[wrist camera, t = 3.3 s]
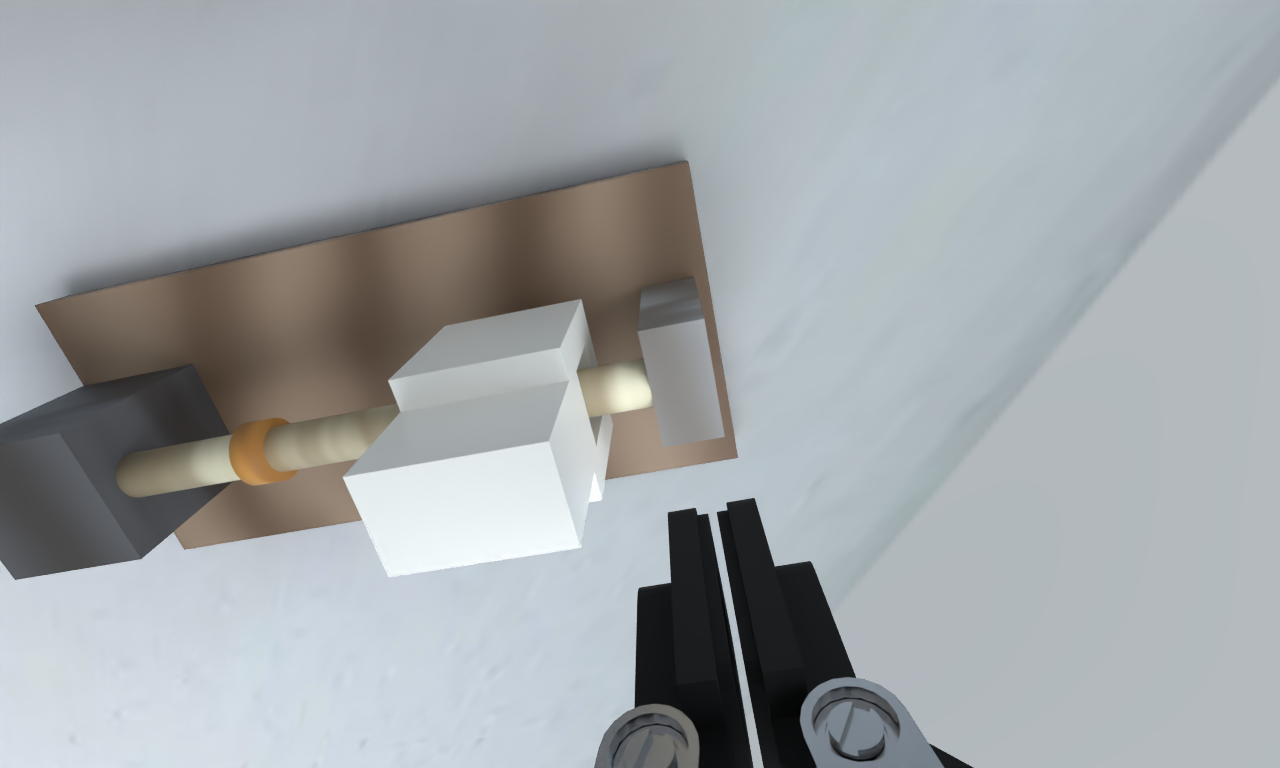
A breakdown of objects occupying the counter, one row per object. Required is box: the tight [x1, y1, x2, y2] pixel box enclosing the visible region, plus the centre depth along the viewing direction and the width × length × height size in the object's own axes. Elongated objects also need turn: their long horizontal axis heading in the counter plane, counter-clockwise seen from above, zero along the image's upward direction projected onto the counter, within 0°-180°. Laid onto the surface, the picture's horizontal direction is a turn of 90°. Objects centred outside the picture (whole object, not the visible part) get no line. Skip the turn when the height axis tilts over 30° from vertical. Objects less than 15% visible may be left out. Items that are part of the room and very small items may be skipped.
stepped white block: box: [343, 299, 613, 577], centre depth 18 cm, size 5×5×8 cm
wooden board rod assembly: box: [0, 161, 738, 580], centre depth 23 cm, size 26×12×8 cm, turn 102°
